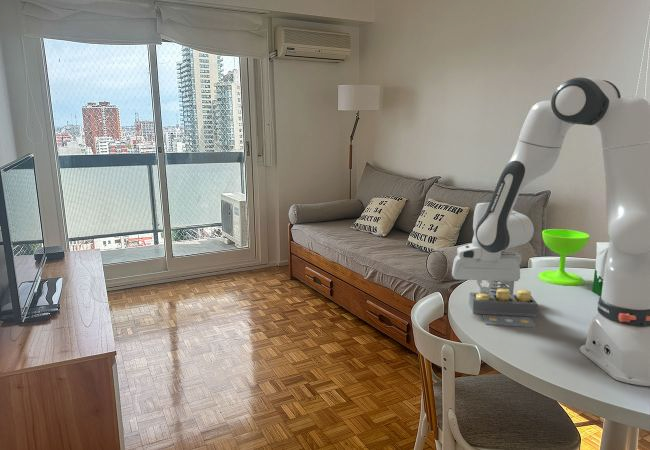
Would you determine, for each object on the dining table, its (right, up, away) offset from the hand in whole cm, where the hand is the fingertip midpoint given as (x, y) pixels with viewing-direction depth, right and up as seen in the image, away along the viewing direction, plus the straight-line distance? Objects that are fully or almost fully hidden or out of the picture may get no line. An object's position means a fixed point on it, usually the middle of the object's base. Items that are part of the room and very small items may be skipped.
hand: (484, 292), depth 144 cm
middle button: (+6, -2, 0) cm, 6 cm away
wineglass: (+40, +1, +30) cm, 50 cm away
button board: (+5, -6, -4) cm, 9 cm away
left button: (0, -4, +1) cm, 4 cm away
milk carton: (+47, -3, +13) cm, 49 cm away
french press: (+9, -3, +12) cm, 15 cm away
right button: (+12, -2, -1) cm, 12 cm away
